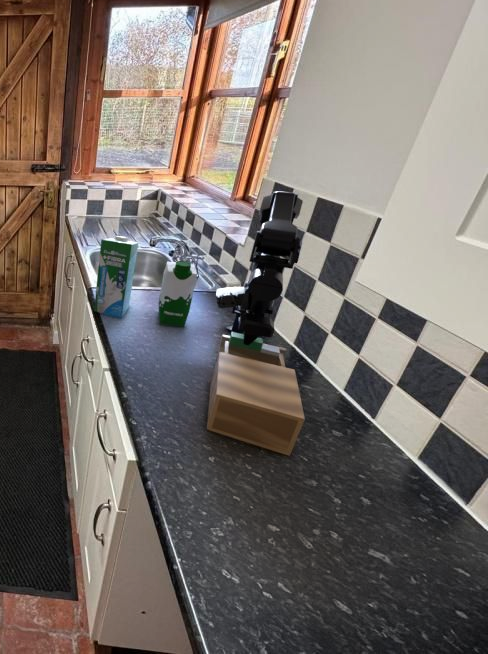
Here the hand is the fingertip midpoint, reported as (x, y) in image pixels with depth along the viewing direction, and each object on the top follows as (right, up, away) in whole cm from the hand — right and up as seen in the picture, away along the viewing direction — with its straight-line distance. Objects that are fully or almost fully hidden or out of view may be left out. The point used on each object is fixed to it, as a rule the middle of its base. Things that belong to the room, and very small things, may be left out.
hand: (246, 341), depth 96 cm
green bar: (+2, -1, 0) cm, 2 cm away
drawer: (+1, -10, +1) cm, 10 cm away
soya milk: (-4, +2, +30) cm, 30 cm away
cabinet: (-5, -15, -8) cm, 18 cm away
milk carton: (-21, +5, +37) cm, 43 cm away
